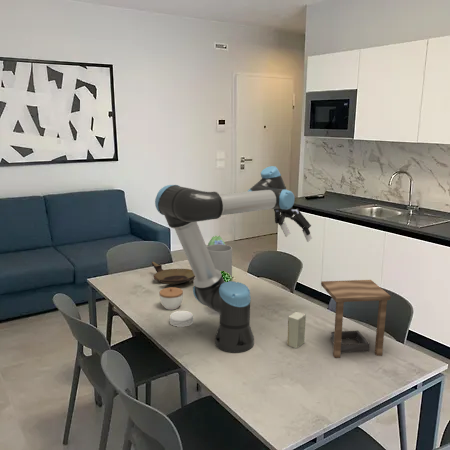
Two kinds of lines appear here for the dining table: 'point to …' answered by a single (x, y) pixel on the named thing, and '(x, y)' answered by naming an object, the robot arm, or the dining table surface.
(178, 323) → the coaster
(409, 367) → the dining table surface
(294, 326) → the skincare box
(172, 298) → the lidded jar
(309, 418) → the dining table surface
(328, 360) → the dining table surface
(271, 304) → the dining table surface
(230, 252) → the cylinder vase
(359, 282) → the awning stand
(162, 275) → the brown frying pan
